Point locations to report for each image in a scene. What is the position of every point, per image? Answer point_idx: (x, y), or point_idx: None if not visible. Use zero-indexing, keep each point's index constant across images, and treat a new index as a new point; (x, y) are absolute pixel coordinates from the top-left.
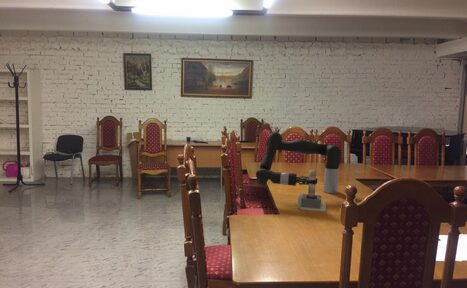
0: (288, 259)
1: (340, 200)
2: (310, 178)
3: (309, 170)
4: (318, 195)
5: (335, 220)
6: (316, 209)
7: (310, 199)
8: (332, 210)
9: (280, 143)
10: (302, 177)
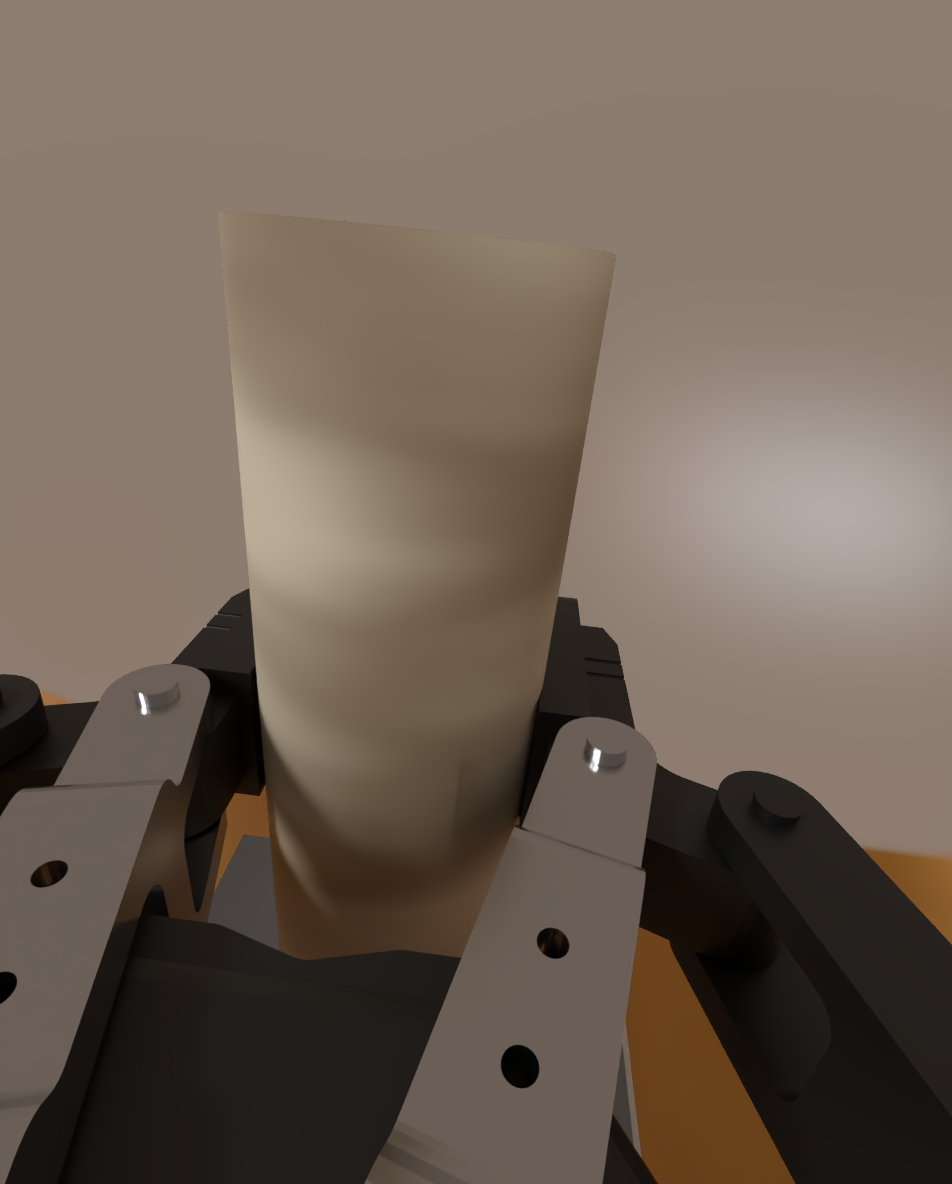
0: None
1: (55, 701)
2: (532, 670)
3: (425, 233)
4: (229, 888)
5: (876, 850)
6: (628, 1061)
7: (622, 1116)
8: None
9: None
10: (46, 1153)
